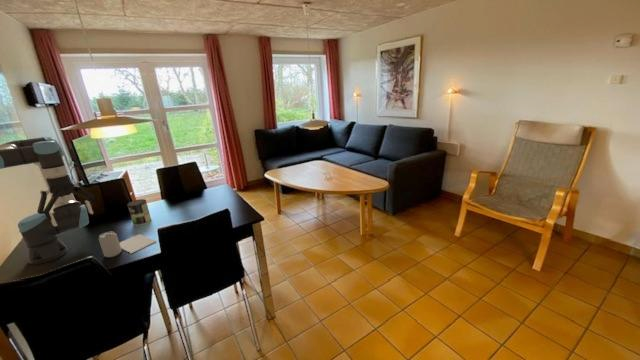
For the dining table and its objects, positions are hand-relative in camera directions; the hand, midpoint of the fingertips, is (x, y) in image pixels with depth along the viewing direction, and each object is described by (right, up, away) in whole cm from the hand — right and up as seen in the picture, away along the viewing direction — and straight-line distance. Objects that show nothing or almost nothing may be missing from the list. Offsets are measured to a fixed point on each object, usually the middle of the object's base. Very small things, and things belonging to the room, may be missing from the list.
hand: (74, 219), depth 125 cm
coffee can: (-1, -9, +51) cm, 52 cm away
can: (+7, -21, +16) cm, 27 cm away
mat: (+12, -17, +24) cm, 32 cm away
